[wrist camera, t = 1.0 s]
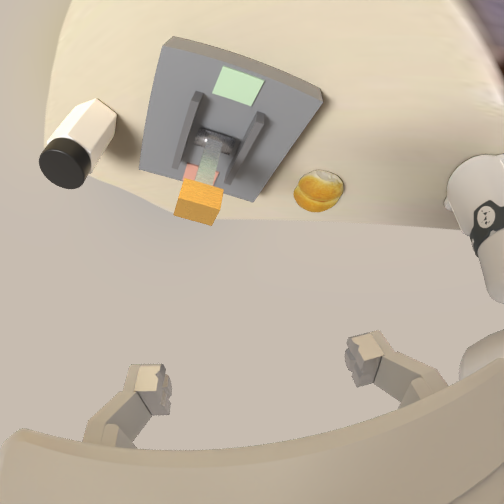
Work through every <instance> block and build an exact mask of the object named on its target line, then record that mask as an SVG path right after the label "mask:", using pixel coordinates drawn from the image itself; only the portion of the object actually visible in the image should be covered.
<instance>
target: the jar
mask: <svg viewBox="0 0 504 504" xmlns="http://www.w3.org/2000/svg"><path fill="white" fill-rule="evenodd" d="M116 117H117V114H116V113H115V112H114V111H112V110H111V109H110V108H109V107H107V106H106V105H105V104H103V103H102V102H101V101H100V100H98V99H97V98H96V99H93V100H90V101H87V102H84V103H82V104H79V105H76V106H75V108H74V109H73V110H72V111H71V112H70V113H69V115H68V116H67V117H66V118H65V119H64V120H63V122H62V123H61V124H60V125H59V127H58V128H57V129H56V130H55V132H54V133H53V134H52V136H51V137H50V138H49V139H48V141H47V146H46V148H45V149H44V151H43V152H42V153H41V155H40V158H39V165H40V168H41V171H42V172H43V174H44V175H45V176H46V178H47V179H48V180H50V181H51V182H52V183H54V184H55V185H57V186H59V187H62V188H66V189H75V188H78V187H80V186H81V185H82V184H83V183H84V181H85V179H86V177H87V176H88V174H91V173H92V172H93V170H94V168H95V166H96V165H97V163H98V161H99V159H100V158H101V156H102V154H103V153H104V151H105V149H106V148H107V146H108V144H109V143H110V141H111V140H112V138H113V137H114V135H115V126H116Z"/></svg>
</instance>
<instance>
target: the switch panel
mask: <svg viewBox="0 0 504 504" xmlns="http://www.w3.org/2000/svg"><path fill="white" fill-rule="evenodd" d="M322 103H323V99H322V95H321V91H320V88H318V87H316V86H314V85H312V84H310V83H308V82H306V81H304V80H302V79H299V78H297V77H295V76H293V75H291V74H288V73H286V72H284V71H281V70H279V69H276V68H274V67H271V66H269V65H266V64H264V63H261V62H259V61H256V60H253V59H250V58H248V57H245V56H242V55H239V54H236V53H233V52H230V51H227V50H224V49H220V48H217V47H214V46H210V45H207V44H203V43H199V42H195V41H191V40H187V39H183V38H179V37H174V36H173V37H172V38H171V39H169V40H168V41H167V42H166V43H165V44H164V45H163V46H162V49H161V53H160V57H159V61H158V65H157V69H156V73H155V78H154V82H153V87H152V91H151V96H150V101H149V106H148V112H147V117H146V123H145V129H144V135H143V142H142V149H141V156H140V164H139V170H143V171H147V172H150V173H154V174H158V175H162V176H165V177H169V178H173V179H176V180H180V181H184V178H187V179H191V180H195V177H196V173H197V170H198V166H199V163H200V160H201V156H202V153H203V150H204V148H203V147H200V146H197V145H193V144H194V141H195V138H196V135H197V132H198V130H199V128H202V129H206V130H209V131H212V132H215V133H218V134H222V135H225V136H228V137H231V138H234V139H235V143H234V146H233V149H232V152H231V154H230V155H226V154H223V153H220V155H219V160H218V164H217V168H216V172H215V177H214V181H213V185H212V186H214V187H218V188H221V189H224V191H223V193H224V194H227V195H231V196H234V197H237V198H240V199H244V200H247V201H250V202H254V201H255V199H256V198H257V196H258V195H259V193H260V192H261V191H262V189H263V188H264V186H265V185H266V183H267V182H268V180H269V179H270V177H271V176H272V174H273V173H274V171H275V170H276V169H277V167H278V166H279V164H280V163H281V161H282V160H283V158H284V157H285V156H286V154H287V153H288V151H289V150H290V148H291V147H292V146H293V144H294V143H295V141H296V140H297V138H298V137H299V136H300V134H301V133H302V131H303V130H304V128H305V127H306V126H307V124H308V123H309V121H310V120H311V119H312V117H313V116H314V114H315V113H316V112H317V110H318V109H319V107H320V106H321V105H322Z"/></svg>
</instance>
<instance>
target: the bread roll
mask: <svg viewBox="0 0 504 504" xmlns="http://www.w3.org/2000/svg"><path fill="white" fill-rule="evenodd" d="M342 193H343V182H342V181H341V179H340V178H339V177H338V176H337V175H335V174H332V173H330V172H328V171H323V170H315V171H312V172H310V173H308V174H306V175H304V176H303V177H302V178H301V179H300V181H299V183H298V185H297V187H296V188H295V190H294V198H295V200H296V202H297V203H298V205H299V206H301V207H302V208H304V209H305V210H307V211H310V212H322V211H325V210H327V209H329V208H331V207H333V206H334V205H335V204H336V202H337V201H338V200H339V198H340V196H341V195H342Z"/></svg>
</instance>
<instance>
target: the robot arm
mask: <svg viewBox="0 0 504 504" xmlns="http://www.w3.org/2000/svg"><path fill="white" fill-rule="evenodd" d="M444 206H445V208H446V209H447V210H450V211H452V212H453V213H454V215H455V217H456V220H457V222H458V224H459V227H460V229H461V231H462V233H463V234H465V235H467V236H470V239H471V242H472V247H473V249H474V251H475V254H476V256H477V257H478V258H479V261H480V264H481V268H482V271H483V275H484V280H485V284H486V288H487V291H488V293H489V295H490V296H491V298H492V299H494V300H495V301H497V302H499V303H502V304H504V154H500V155H497V156H493V155H479V156H475V157H473V158H470V159H468V160H467V161H465V162H464V163H462V164H461V165H460V166H459V167H458V168H457V169H456V170H455V171H454V172H453V174H452V175H451V177H450V179H449V181H448V184H447V197H446V199H445V201H444ZM347 345H348V349H347V350H346V351H345V362H346V366H347V368H348V370H350V371H351V372H353V374H352V378H353V380H354V382H355V384H356V386H357V387H360V386H364V385H368V384H371V383H374V384H375V385H376V386H378V387H379V388H381V389H382V390H384V391H385V392H386V393H388V394H390V395H391V396H392V397H394V398H395V399H397V400H398V401H400V402H401V404H400V406H399V408H398V409H397V410H395V411H392V412H389V413H387V414H384V415H381V416H378V417H376V418H373V419H370V420H367V421H363V422H360V423H357V424H354V425H351V426H347V427H344V428H340V429H336V430H333V431H329V432H325V433H321V434H317V435H312V436H308V437H303V438H298V439H293V440H288V441H282V442H276V443H270V444H263V445H255V446H248V447H238V448H226V449H212V450H147V449H138V448H137V447H136V446H135V445H134V444H133V443H132V442H133V441H134V439H135V438H136V437H137V435H138V434H139V433H140V431H141V430H142V429H143V428H144V426H145V425H146V423H147V422H148V421H149V420H150V418H151V417H152V416H151V415H169V414H170V405H171V403H170V401H169V397H170V396H171V394H172V386H171V381H170V378H169V376H168V375H167V374H165V371H166V369H165V367H164V365H163V364H131V365H130V366H129V369H128V373H127V377H126V380H125V384H124V388H123V391H120V392H119V393H117V394H116V395H115V396H114V397H113V398H112V399H111V400H110V401H109V402H108V403H107V404H106V405H105V406H103V407H102V409H100V410H99V411H98V412H97V413H96V414H95V415H94V416H93V417H92V418H90V420H88V423H87V426H86V430H85V433H84V437H83V441H82V442H80V441H74V440H70V439H65V438H61V437H56V436H52V435H48V434H44V433H40V432H37V431H33V430H29V429H25V428H22V429H19V430H18V431H16V432H15V433H14V434H13V435H11V436H10V437H9V438H8V439H6V440H5V441H4V442H3V444H2V445H1V448H0V504H504V329H503V330H501V331H498V332H496V333H493V334H490V335H488V336H487V337H485V338H483V339H481V340H480V341H478V342H477V343H475V344H473V345H472V346H470V347H468V348H467V350H466V352H465V353H464V355H463V358H462V360H461V363H460V368H459V381H458V382H456V383H455V384H452V385H451V386H448V385H447V383H446V382H445V380H444V379H443V378H442V376H441V375H440V373H439V372H438V370H437V369H435V368H433V367H430V366H428V365H426V364H424V363H422V362H419V361H417V360H415V359H413V358H411V357H409V356H406V355H404V354H402V353H400V352H395V351H394V350H393V348H392V347H391V346H390V344H389V343H388V341H387V340H386V338H385V337H384V336H383V334H382V333H381V332H380V331H379V330H376V331H372V332H369V333H364V334H361V335H357V336H353V337H349V338H348V340H347Z"/></svg>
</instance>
